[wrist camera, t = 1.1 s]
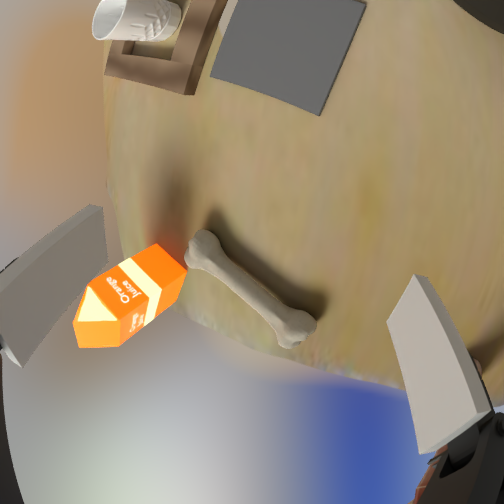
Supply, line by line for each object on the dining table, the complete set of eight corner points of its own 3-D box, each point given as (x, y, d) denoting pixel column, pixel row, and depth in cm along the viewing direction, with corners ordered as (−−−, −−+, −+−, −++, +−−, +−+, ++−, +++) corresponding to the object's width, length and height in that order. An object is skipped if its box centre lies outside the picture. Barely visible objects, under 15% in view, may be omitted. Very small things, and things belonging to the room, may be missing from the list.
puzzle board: (146, -25, 23) (137, -27, 21) (243, -35, 18) (235, -41, 16) (113, 74, 34) (104, 74, 33) (194, 95, 30) (183, 94, 28)
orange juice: (148, 274, 50) (65, 330, 35) (156, 242, 45) (57, 300, 29) (176, 301, 49) (95, 366, 33) (188, 271, 43) (90, 343, 28)
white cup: (185, 35, 26) (124, 24, 18) (146, 51, 30) (90, 48, 22) (185, -8, 23) (129, -25, 15) (147, 11, 26) (94, 3, 18)
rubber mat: (249, -18, 19) (247, -19, 19) (366, 6, 16) (365, 4, 16) (212, 77, 27) (209, 76, 27) (319, 116, 24) (318, 115, 24)
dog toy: (195, 249, 41) (173, 264, 37) (208, 219, 37) (184, 232, 33) (300, 337, 38) (286, 360, 34) (325, 315, 34) (313, 340, 30)
